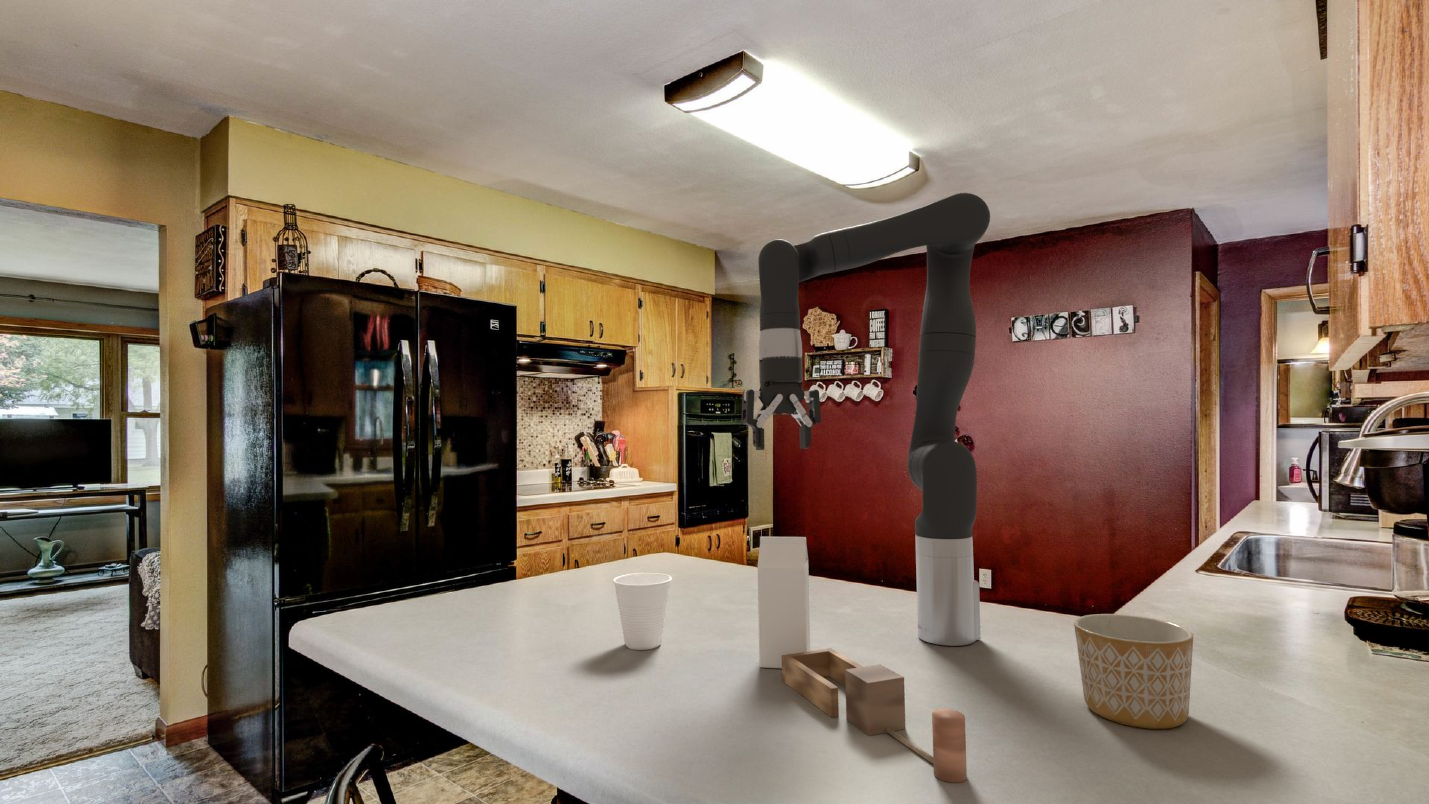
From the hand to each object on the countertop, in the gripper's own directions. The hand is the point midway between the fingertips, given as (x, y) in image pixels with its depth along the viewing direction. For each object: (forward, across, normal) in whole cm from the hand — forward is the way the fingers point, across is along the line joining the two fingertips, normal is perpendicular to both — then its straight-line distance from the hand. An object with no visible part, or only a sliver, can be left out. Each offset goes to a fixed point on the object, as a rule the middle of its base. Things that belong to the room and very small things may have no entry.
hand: (782, 449), depth 122 cm
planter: (+32, -25, +46) cm, 62 cm away
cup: (+32, +24, -5) cm, 41 cm away
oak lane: (+32, +6, +26) cm, 42 cm away
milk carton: (+32, +6, +12) cm, 35 cm away
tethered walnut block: (+32, +6, +43) cm, 54 cm away
